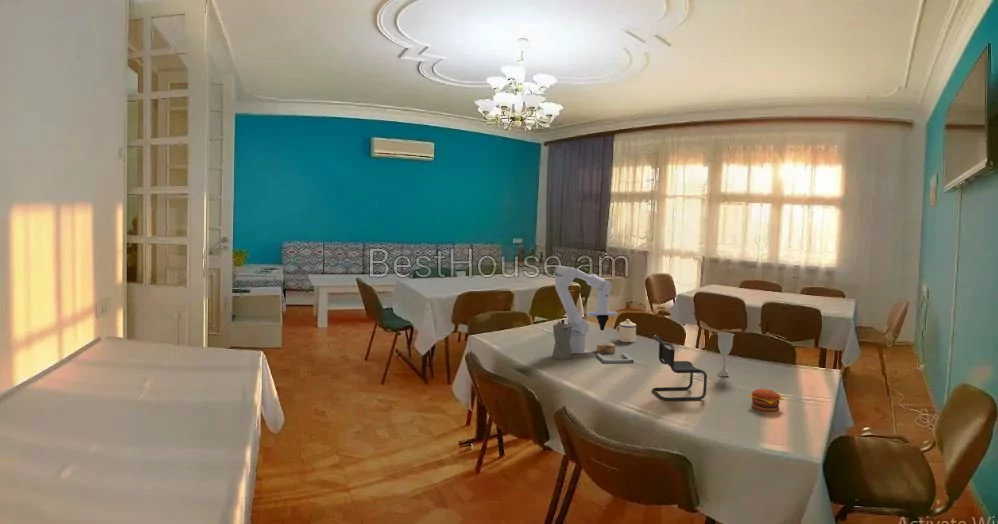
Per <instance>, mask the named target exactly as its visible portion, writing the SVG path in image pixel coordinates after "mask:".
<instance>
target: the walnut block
mask: <svg viewBox="0 0 998 524" xmlns="http://www.w3.org/2000/svg"><path fill="white" fill-rule="evenodd" d="M596 351H598V352H597V354H615V353H616V346H615V344H614V343H613V342H610V343H609V342H597V343H596Z"/></svg>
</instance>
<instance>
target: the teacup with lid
mask: <svg viewBox="0 0 998 524" xmlns="http://www.w3.org/2000/svg"><path fill="white" fill-rule="evenodd" d="M615 330H616V333H617V335H618V340H620V342H621V341H622V342H621V343H627V342H631V343H635V342H636V339H637V338H636V336H637V324H636V323H634V322H632V321H631V320H630V319H629V318H626V320H625V321H621V322H619V324H618V325H617V326H616V327H615Z"/></svg>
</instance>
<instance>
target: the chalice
mask: <svg viewBox="0 0 998 524" xmlns="http://www.w3.org/2000/svg"><path fill="white" fill-rule="evenodd" d="M717 336H718V337H717V346H718V349H719V352H720V354H721V355H722V356H723V358H722V363H721V365H722V367H721V368H720V369H719V370H718V373H717V374H718V375H720V376H719V377H721V376H729V375H730V373H729V371H728V369H727V368H726V366H727V364H726V361H727V359H726V357H727V356H729V354H730V352H731V351H732V348H733V345H734V344H733V342H734V336H735V334H734V333H731V332H727V331H725V332H724V331H721V332H717ZM718 375H717V376H718ZM729 377H730V376H729Z"/></svg>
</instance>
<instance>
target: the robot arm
mask: <svg viewBox="0 0 998 524" xmlns="http://www.w3.org/2000/svg"><path fill="white" fill-rule="evenodd" d="M553 276H554V285H555V286H554V287H555V288H554V289H555V290H556V293H557V295H558V298H559V300H560V302H561V305H562V306H563V309H564V311H565V313H566V316H567V317H568V318H567V319H566V322H567V323H566V324H568V325H571V326H572V331H571V337H570V340H569V344H570V349H571V355H573V354H574V355H575V354H588V352H587V350H586V336H587V334H588V332H589V329H590V326H589V324H588V322H587V321H586V320H585V318H583V317H582V315H580V313H579V310H578V309H577V306H576V304H575V301H574V299H573V297H572V295H571V292H570V290H569V286H570V285H571V284H572V282H573V281H574V280H575V279H581V281H582V280H583V281H585V282H586V284H587V285H588V286H590V287H592V288H595V290H597V294H596V295H597V296H596V298H597V299H596V300H597V301H596V310H595V311H594V310H593V311H587V316H588V317H596V320H597V321H598V326H599V330H601V331H605V328H606V325H607V322H608V320H609V316H611V317H613V316H614V317H618V312H617V311H613V310H612V311H611V310H609V309H610V308H609V305H610V302H609V301H610V300H609V298H610V293H611V290H612V288H613V286H612V284H611V281H610V280H608V279H604V278H603V276H602V277H600V276H598V275H597V274H596V273H590V274H588V273H587V272H584V271H581V270H580V269H578V268H574V267H573V266H564V265H557V266H556V267H555V269H554V271H553Z"/></svg>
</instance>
